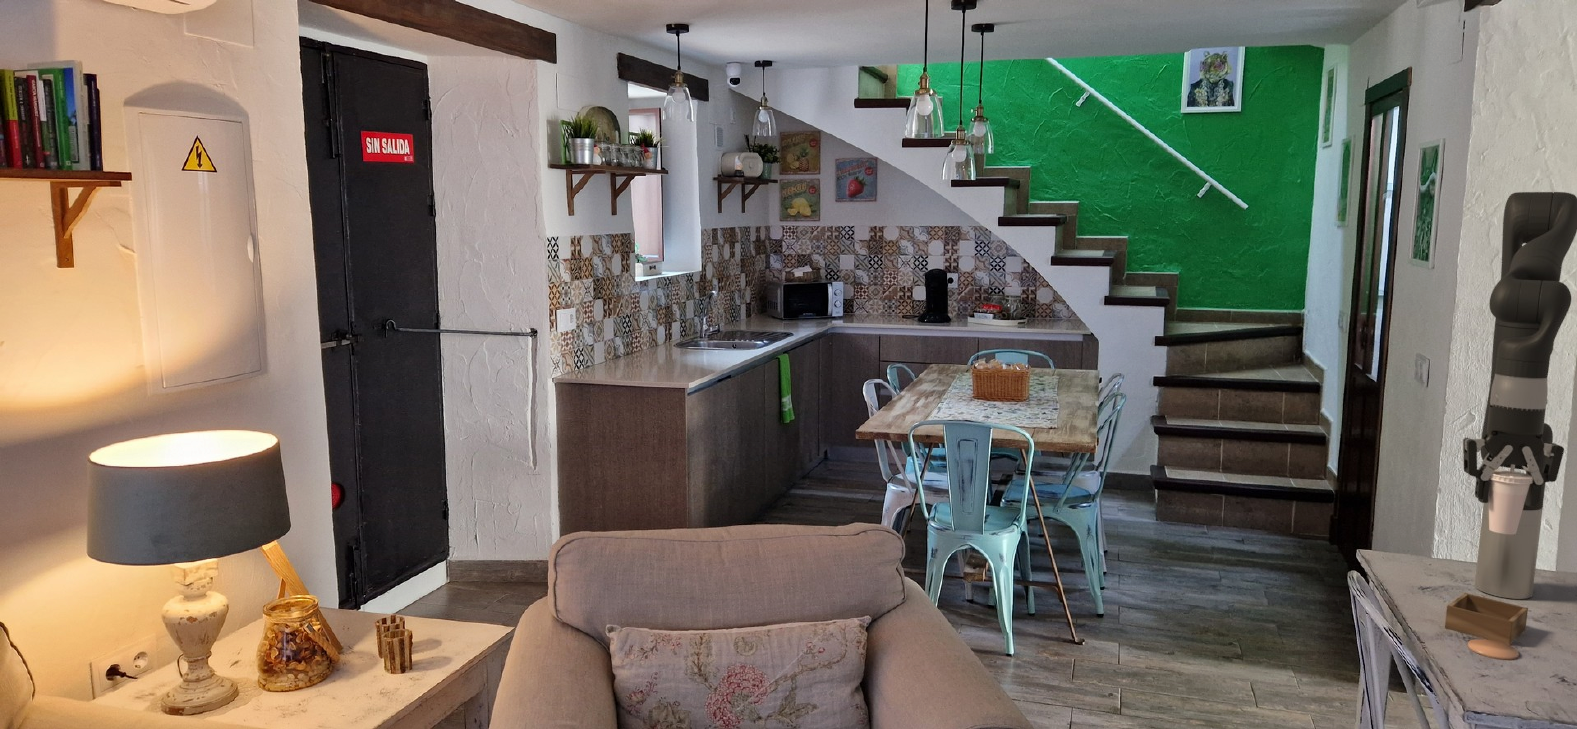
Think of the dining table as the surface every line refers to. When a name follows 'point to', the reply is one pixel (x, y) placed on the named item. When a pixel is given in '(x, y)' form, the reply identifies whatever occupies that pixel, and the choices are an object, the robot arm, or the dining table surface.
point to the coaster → (1493, 649)
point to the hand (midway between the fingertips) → (1505, 503)
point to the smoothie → (1507, 499)
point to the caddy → (1486, 618)
